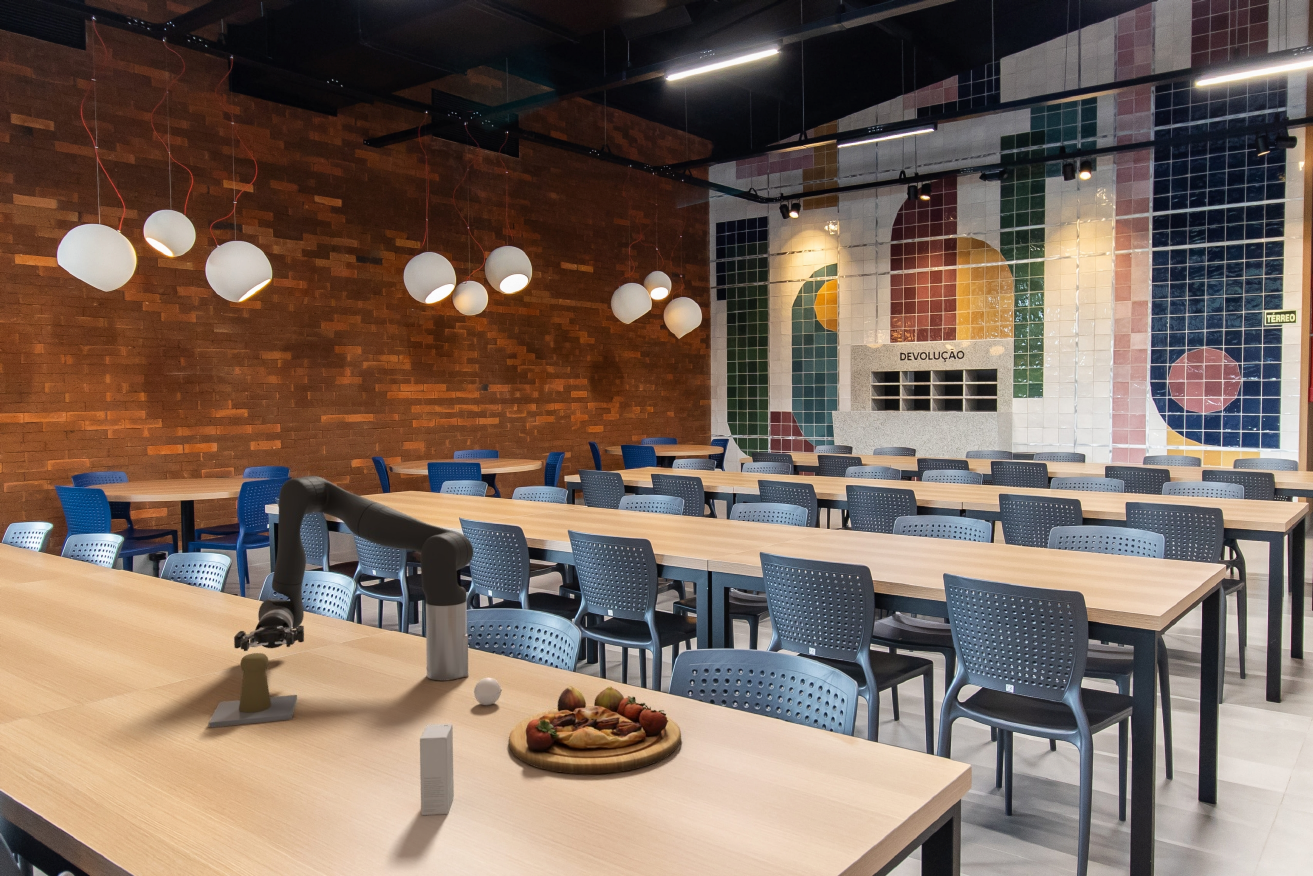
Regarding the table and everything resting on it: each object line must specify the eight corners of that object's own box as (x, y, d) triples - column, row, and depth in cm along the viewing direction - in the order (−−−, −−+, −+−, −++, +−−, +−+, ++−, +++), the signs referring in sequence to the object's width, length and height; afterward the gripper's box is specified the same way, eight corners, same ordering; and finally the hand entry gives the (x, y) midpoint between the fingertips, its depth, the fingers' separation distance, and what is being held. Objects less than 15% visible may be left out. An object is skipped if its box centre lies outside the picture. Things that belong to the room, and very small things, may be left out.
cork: (258, 713, 177) (257, 659, 176) (232, 711, 178) (231, 657, 178) (277, 704, 183) (276, 651, 182) (252, 702, 184) (251, 649, 184)
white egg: (495, 709, 182) (495, 682, 181) (469, 708, 183) (469, 681, 183) (509, 698, 189) (508, 672, 189) (484, 696, 190) (483, 670, 190)
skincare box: (426, 798, 140) (426, 724, 139) (454, 797, 140) (453, 723, 140) (419, 816, 134) (419, 738, 133) (448, 815, 134) (447, 737, 134)
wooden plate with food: (544, 793, 143) (543, 742, 142) (487, 730, 171) (486, 688, 171) (713, 756, 157) (713, 711, 157) (634, 704, 186) (634, 665, 185)
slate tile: (297, 699, 189) (297, 694, 189) (291, 719, 176) (291, 714, 176) (219, 706, 184) (219, 702, 184) (208, 727, 172) (208, 722, 172)
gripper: (240, 615, 204) (230, 630, 189) (306, 609, 208) (301, 624, 193) (241, 647, 204) (231, 665, 189) (307, 641, 209) (302, 658, 193)
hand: (266, 644), depth 191 cm, fingers open, 8 cm apart
